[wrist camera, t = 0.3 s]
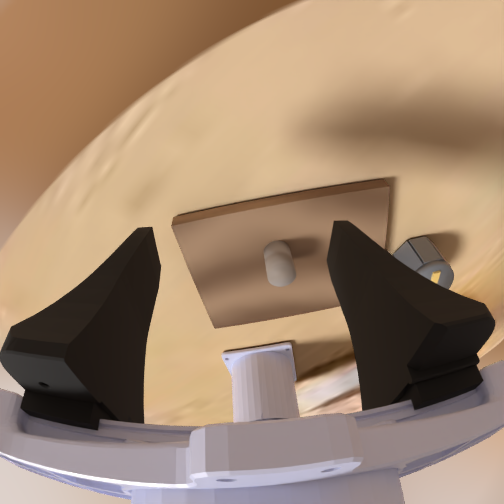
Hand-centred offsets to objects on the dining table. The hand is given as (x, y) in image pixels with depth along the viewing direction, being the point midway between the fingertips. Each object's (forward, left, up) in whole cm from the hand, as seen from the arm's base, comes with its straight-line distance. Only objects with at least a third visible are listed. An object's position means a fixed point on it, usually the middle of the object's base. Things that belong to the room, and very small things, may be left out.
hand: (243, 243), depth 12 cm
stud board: (-10, -2, -10) cm, 14 cm away
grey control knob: (-13, -14, -10) cm, 22 cm away
